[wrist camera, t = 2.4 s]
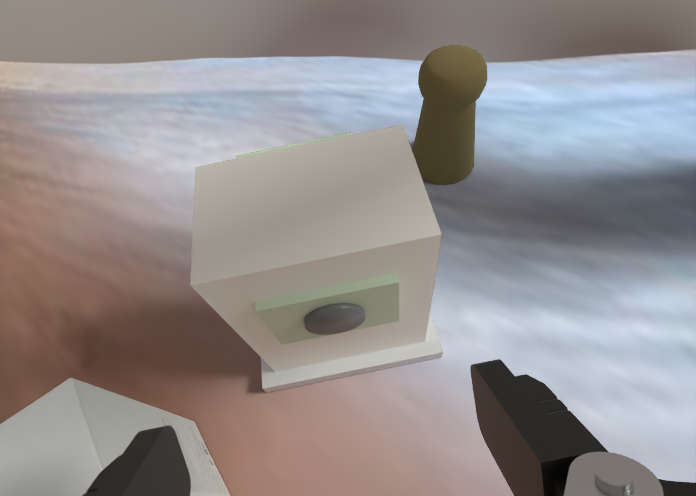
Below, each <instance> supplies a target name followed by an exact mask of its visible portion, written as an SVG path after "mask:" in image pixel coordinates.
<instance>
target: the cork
mask: <svg viewBox="0 0 696 496" xmlns="http://www.w3.org/2000/svg"><path fill="white" fill-rule="evenodd" d="M486 81H487V65H486V63H485V61H484V59H483V57H482V55H481V54H480V53H478V52H477V51H476V50H474V49H472V48H469V47H466V46H461V45H450V46H444V47H441V48H438V49H436V50H434V51H433V52H431V53H430V54H429V55H428V56H427V57H426V59H425V60H424V62H423V63H422V65H421V68H420V71H419V80H418V84H419V88H420V91H421V94H422V96H423V98H424V100H423V105H422V109H421V114H420V119H419V123H418V128H417V133H416V137H415V142H414V147H413V151H412V152H413V155H414V158H415V160H416V163H417V166H418V169H419V172H420V174H421V177H422V179H423V180H425V181H427V182H430V183H433V184H441V185H447V184H453V183H456V182H459V181H461V180H463V179H465V178H466V177H467V176H468V175H469V174H470V173H471V171H472V169H473V167H474V141H475V106H476V100H477V99H478V98H479V97H480V95H481V93H482V91H483V89H484V87H485V85H486Z"/></svg>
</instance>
